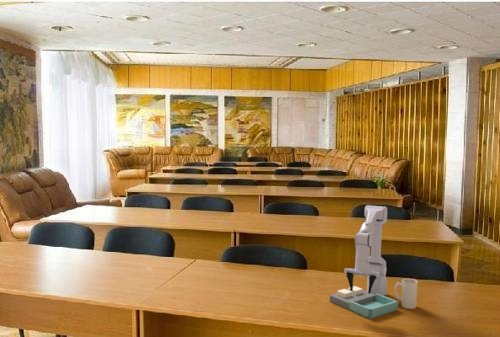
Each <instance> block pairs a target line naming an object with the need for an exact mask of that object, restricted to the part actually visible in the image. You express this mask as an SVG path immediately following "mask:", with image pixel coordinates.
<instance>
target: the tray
mask: <svg viewBox="0 0 500 337" xmlns="http://www.w3.org/2000/svg"><path fill="white" fill-rule="evenodd" d="M398 308H399V301H398V300H395V299H393V298H390V297H387V296H386V295H383V296H382V295H380V294H377V293H376V294H375V301H372V302H368V303H365V304H361V305H360V304H358V303H355V302H353V301H349V310H348V311H351V312H353V313H356V314H358V315H360V316H362V317H364V318H367V319H369V320H372V319H374V318H375V319H376V318H378V317H381V316H384V315H387V314H390V313H393V312H396V311H398V310H399V309H398Z"/></svg>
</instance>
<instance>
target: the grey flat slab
mask: <svg viewBox="0 0 500 337" xmlns="http://www.w3.org/2000/svg"><path fill="white" fill-rule="evenodd" d="M366 291H367V290H365V289H363V293H361V294H358V295H354V294H352V296H350V297H347V298H343V297H341V296H338V295H337V292H336V293H333V294H330V295H329V302H330V303H333V304H335V305H337V306H340V307H342V308H344V309H346V310H348V311H350V310H349V301H353V302H355V303H358V304H360V305H361V304H365V303H368V302H372V301H375V295H374V294H371V293H370V294H369V293H368V292H366Z"/></svg>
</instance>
